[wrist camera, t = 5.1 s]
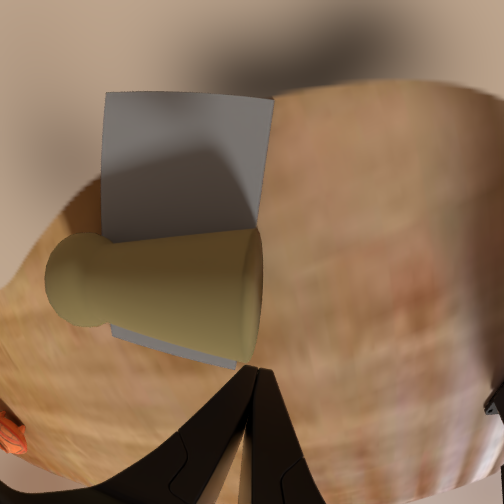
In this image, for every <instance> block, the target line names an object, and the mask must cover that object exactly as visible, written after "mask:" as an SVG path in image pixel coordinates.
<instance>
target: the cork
mask: <svg viewBox="0 0 504 504" xmlns="http://www.w3.org/2000/svg"><path fill="white" fill-rule="evenodd" d="M45 290H46V294H47V297H48V300H49V303H50V304H51V306H52V307H53V309H54V310H55V311H56V313H57V314H58V316H59V317H61V318H63V319H64V320H66V321H67V322H69V323H71V324H72V325H75V326H79V327H98V326H100V325H102V324H104V323H106V322H107V323H110V324H113V325H116V326H118V327H121V328H124V329H127V330H130V331H133V332H136V333H139V334H142V335H145V336H148V337H152V338H155V339H158V340H161V341H165V342H168V343H171V344H175V345H178V346H181V347H185V348H188V349H192V350H196V351H199V352H203V353H207V354H210V355H214V356H218V357H222V358H226V359H230V360H234V361H238V362H242V363H247V362H249V361H250V359H251V357H252V355H253V352H254V348H255V344H256V340H257V335H258V329H259V323H260V314H261V305H262V292H263V253H262V243H261V237H260V233H259V231H258V229H257V228H254V229H244V230H233V231H223V232H213V233H204V234H194V235H185V236H175V237H166V238H157V239H148V240H140V241H131V242H122V243H113V242H112V241H111V240H110V239H108V238H106V237H104V236H101V235H99V234H96V233H76V234H73V235H70V236H69V237H67V238H65V239H64V240H62V241H61V242H60V243H59V244H58V245H57V246H56V248H55V249H54V250H53V251H52V253H51V255H50V257H49V260H48V262H47V265H46V271H45Z"/></svg>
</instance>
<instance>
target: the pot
mask: <svg viewBox="0 0 504 504" xmlns="http://www.w3.org/2000/svg"><path fill="white" fill-rule="evenodd" d="M5 413H6V411H2V412H0V448H1V449H2V450H4V451H5V452H6V453H9V452H10V453H14V454H23V453H26V452H27V443H26V440H25V437H24V435H23V434H24V431H25V426H24V425H21V426H20V427H18V426H17V425H16V424H15V423H13V422H12V421H10V420H9V419H6V418H4V416H5Z"/></svg>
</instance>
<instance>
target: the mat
mask: <svg viewBox="0 0 504 504" xmlns="http://www.w3.org/2000/svg"><path fill="white" fill-rule="evenodd" d="M273 108H274V100H271V99H263V98H254V97H246V96H235V95H224V94H211V93H193V92H164V91H136V92H108V93H106V98H105V109H104V120H103V135H102V156H101V223H102V236H104V237H106V238H108V239H110V240H111V241H112V242H113V243H122V242H131V241H140V240H148V239H157V238H166V237H175V236H185V235H194V234H204V233H213V232H223V231H233V230H244V229H254V228H256V225H257V218H258V211H259V204H260V198H261V191H262V184H263V177H264V170H265V163H266V156H267V149H268V142H269V135H270V128H271V121H272V115H273ZM110 325H111V331H112V336H113V337H116V338H119V339H122V340H125V341H128V342H132V343H135V344H138V345H141V346H145V347H148V348H151V349H155V350H158V351H162V352H165V353H169V354H172V355H176V356H180V357H183V358H187V359H191V360H195V361H199V362H203V363H207V364H211V365H215V366H219V367H224V368H228V369H233V370H235V368H236V363H237V361H234V360H230V359H226V358H222V357H218V356H214V355H210V354H207V353H203V352H199V351H196V350H192V349H188V348H185V347H181V346H178V345H175V344H171V343H168V342H165V341H161V340H158V339H155V338H152V337H148V336H145V335H142V334H139V333H136V332H133V331H130V330H127V329H124V328H121V327H118V326H116V325H113V324H110Z"/></svg>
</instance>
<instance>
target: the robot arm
mask: <svg viewBox="0 0 504 504" xmlns="http://www.w3.org/2000/svg"><path fill="white" fill-rule="evenodd" d="M257 373H258V374H257ZM484 411H485V414H486V415H492V414H499V415H500V417H501V420H502V422H503V424H504V383H503V384H502V386H501V387H500V389H499V390H498V391H497V393H496V394H495V396H494V397H493V398H492V400H491V401H490V402H489V404H488V405H487V406H486V408H485V409H484ZM247 418H248V419H247ZM245 427H246V428H245ZM244 430H245V433H244ZM243 434H244V441H243V452H242V463H241V474H240V485H239V496H238V504H326V503H325V501H324V499H323V497H322V496H321V494H320V492H319V490H318V488H317V486H316V484H315V482H314V480H313V477H312V475H311V473H310V470H309V468H308V465H307V463H306V460H305V458H304V455H303V452H302V449H301V447H300V444H299V441H298V439H297V436H296V433H295V430H294V428H293V425H292V422H291V419H290V417H289V414H288V411H287V408H286V406H285V403H284V400H283V397H282V395H281V392H280V389H279V386H278V383H277V381H276V378H275V375H274V372H273V371H272V370H270V369H265V368H259V369H258V368H257V367H255V366H250V365H244V366H243V367H242V368H241V369H240V370H239V371H238V372H237V373H236V374H235V375H234V376H233V377H232V378H231V379H230V380H229V381H228V382H227V383H226V384H225V385H224V386H223V387H222V388H221V389H220V390H219V391H218V392H217V393H216V394H215V395H214V396H213V397H212V398H211V399H210V400H209V401H208V402H207V403H206V404H205V405H204V406H203V407H202V408H201V409H200V410H199V411H197V412H196V413H195V414H194V415H193V416H192V417H191V418H190V419H189V420H188V421H187V422H186V423H185V424H184V425H183V426H182V427H180V428H179V429H178V431H176V432H175V433H174V434H173V435H172V436H170V437H169V438H168V439H167V440H166V441H165V442H164V443H162V444H161V445H160V446H159V447H158V448H156V449H155V450H154V451H152V452H151V453H149V454H148V455H146V456H145V457H144V458H142V459H141V460H139V461H137V462H136V463H134V464H133V465H131V466H130V467H128V468H126V469H125V470H123V471H122V472H120V473H118V474H117V475H115V476H113V477H112V478H110V479H108V480H106V481H104V482H102V483H100V484H97V485H95V486H91V487H87V488H80V489H73V490H65V491H56V492H44V493H24V492H19V491H16V490H14V489H12V488H10V487H8V486H7V485H6V484H5V483H3V482H2V481H1V480H0V504H215V502H216V500H217V498H218V495H219V493H220V491H221V488H222V486H223V484H224V481H225V479H226V477H227V474H228V472H229V469H230V467H231V464H232V462H233V460H234V457H235V455H236V452H237V450H238V447H239V445H240V442H241V440H242V437H243ZM501 479H502V494H503V504H504V464H503V465H502V466H501Z"/></svg>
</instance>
